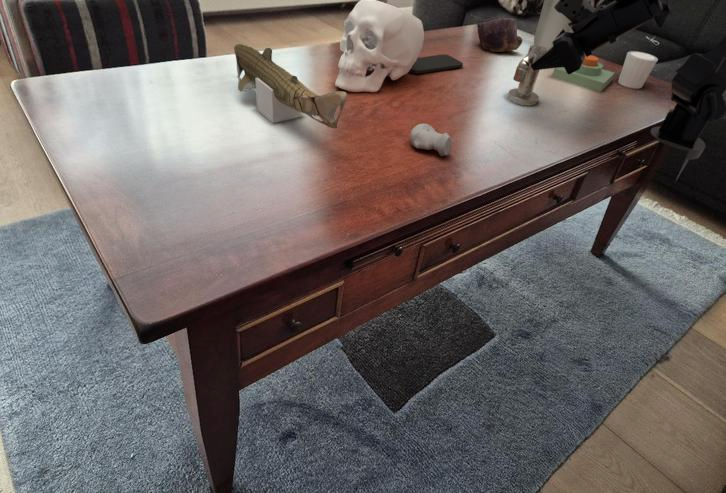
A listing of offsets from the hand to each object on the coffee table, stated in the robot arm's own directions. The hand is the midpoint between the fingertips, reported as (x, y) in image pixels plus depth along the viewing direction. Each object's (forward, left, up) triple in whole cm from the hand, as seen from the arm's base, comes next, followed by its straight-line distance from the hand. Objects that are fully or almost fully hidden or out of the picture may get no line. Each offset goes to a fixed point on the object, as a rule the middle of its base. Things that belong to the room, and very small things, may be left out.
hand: (532, 67), depth 92 cm
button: (-3, -33, -6) cm, 34 cm away
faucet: (+2, -9, -10) cm, 13 cm away
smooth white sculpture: (+6, +27, -10) cm, 29 cm away
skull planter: (+31, +8, -10) cm, 33 cm away
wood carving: (+31, +36, -10) cm, 48 cm away
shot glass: (-13, -40, -10) cm, 44 cm away
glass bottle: (+9, -42, -10) cm, 44 cm away
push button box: (-3, -33, -10) cm, 35 cm away
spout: (+2, -3, -2) cm, 4 cm away
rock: (+22, -35, -10) cm, 43 cm away
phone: (+27, -10, -10) cm, 30 cm away
